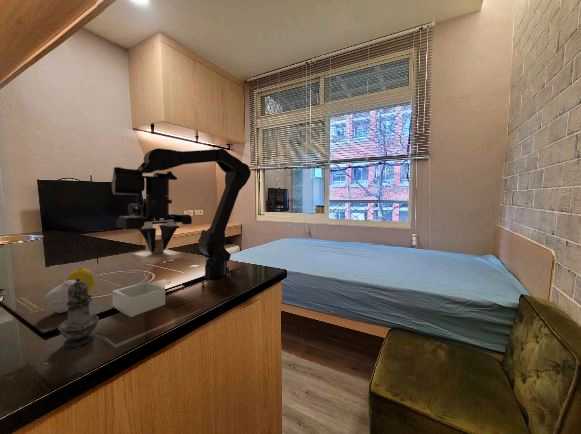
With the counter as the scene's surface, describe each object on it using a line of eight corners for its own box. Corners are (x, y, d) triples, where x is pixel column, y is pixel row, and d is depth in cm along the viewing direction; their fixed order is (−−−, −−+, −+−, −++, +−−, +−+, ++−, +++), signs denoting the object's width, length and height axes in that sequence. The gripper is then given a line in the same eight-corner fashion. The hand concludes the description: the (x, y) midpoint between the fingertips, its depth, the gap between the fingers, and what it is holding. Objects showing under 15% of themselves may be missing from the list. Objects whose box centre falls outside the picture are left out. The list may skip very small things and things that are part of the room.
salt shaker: (52, 353, 44) (49, 284, 43) (65, 335, 50) (63, 274, 48) (94, 346, 46) (92, 281, 45) (103, 330, 52) (101, 271, 51)
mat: (164, 280, 81) (164, 279, 81) (184, 287, 76) (184, 286, 76) (130, 289, 73) (130, 288, 73) (151, 298, 67) (151, 296, 67)
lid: (163, 252, 80) (163, 235, 79) (181, 257, 75) (181, 239, 74) (132, 257, 72) (132, 239, 71) (150, 263, 67) (150, 243, 67)
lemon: (79, 303, 63) (78, 271, 62) (61, 300, 64) (60, 269, 63) (100, 295, 68) (99, 265, 68) (83, 292, 70) (82, 263, 69)
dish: (147, 298, 68) (146, 281, 67) (165, 306, 63) (165, 288, 63) (112, 309, 61) (112, 290, 60) (130, 319, 57) (130, 299, 56)
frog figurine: (89, 310, 60) (88, 280, 59) (48, 321, 54) (47, 289, 54) (81, 302, 64) (80, 275, 63) (42, 312, 58) (40, 282, 57)
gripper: (170, 195, 84) (170, 242, 85) (105, 193, 68) (106, 252, 70) (193, 196, 78) (192, 247, 79) (127, 195, 62) (128, 259, 64)
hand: (157, 251), depth 73 cm, fingers closed on lid, 3 cm apart
